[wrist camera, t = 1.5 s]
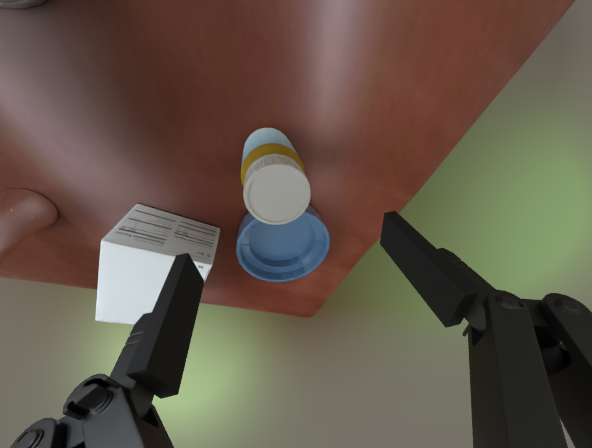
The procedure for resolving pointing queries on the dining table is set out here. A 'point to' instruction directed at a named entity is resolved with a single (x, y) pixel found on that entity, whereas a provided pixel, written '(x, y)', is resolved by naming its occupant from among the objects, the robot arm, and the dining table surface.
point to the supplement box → (147, 260)
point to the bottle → (273, 178)
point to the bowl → (282, 246)
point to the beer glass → (22, 218)
